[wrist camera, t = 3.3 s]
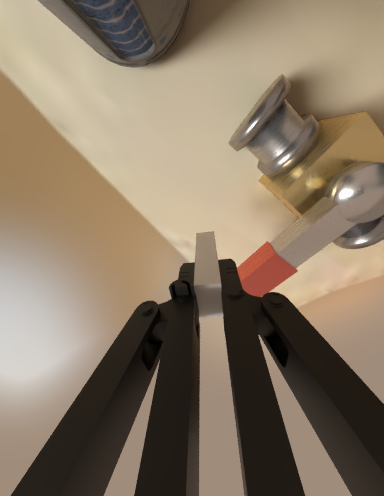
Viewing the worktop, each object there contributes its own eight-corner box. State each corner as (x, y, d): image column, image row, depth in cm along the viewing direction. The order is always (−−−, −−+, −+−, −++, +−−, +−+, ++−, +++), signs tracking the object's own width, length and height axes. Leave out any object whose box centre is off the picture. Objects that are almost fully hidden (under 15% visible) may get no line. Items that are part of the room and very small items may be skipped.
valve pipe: (222, 148, 20) (233, 150, 13) (272, 80, 17) (321, 36, 10) (318, 236, 25) (364, 273, 18) (370, 196, 22) (450, 221, 15)
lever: (363, 147, 12) (391, 148, 10) (391, 184, 13) (421, 190, 12) (226, 271, 18) (228, 285, 16) (253, 289, 19) (258, 304, 18)
